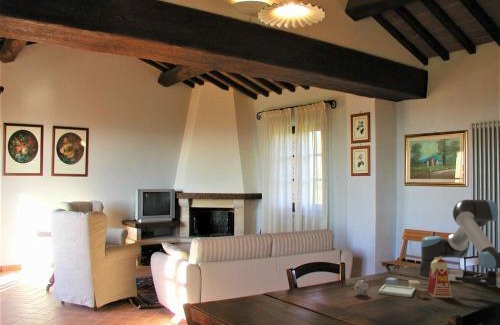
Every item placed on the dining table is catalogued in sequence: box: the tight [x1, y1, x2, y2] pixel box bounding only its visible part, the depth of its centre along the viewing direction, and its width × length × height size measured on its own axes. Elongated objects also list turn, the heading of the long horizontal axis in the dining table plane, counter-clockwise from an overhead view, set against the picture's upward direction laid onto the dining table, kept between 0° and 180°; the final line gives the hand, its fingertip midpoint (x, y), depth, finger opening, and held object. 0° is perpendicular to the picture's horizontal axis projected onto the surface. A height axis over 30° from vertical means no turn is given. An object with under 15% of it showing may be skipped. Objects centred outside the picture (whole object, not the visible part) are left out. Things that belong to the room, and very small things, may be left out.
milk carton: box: [427, 256, 453, 298], centre depth 230 cm, size 9×9×20 cm
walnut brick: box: [416, 287, 430, 300], centre depth 225 cm, size 4×4×4 cm
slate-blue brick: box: [385, 277, 398, 286], centre depth 249 cm, size 6×4×4 cm, turn 139°
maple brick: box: [408, 279, 421, 291], centre depth 243 cm, size 5×5×4 cm
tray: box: [378, 283, 416, 298], centre depth 235 cm, size 16×16×2 cm
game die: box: [351, 278, 372, 297], centre depth 228 cm, size 9×8×10 cm
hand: (448, 274), depth 228 cm, fingers open, 13 cm apart
